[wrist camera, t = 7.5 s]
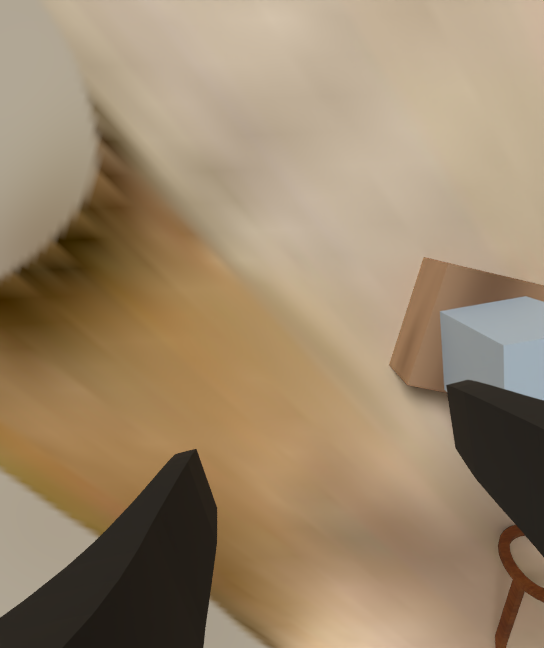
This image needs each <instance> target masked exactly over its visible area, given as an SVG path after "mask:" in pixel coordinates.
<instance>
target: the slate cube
mask: <svg viewBox="0 0 544 648" xmlns="http://www.w3.org/2000/svg"><path fill="white" fill-rule="evenodd" d="M440 323H441V340H442V357H443V374H444V390H445V391H446V392H447V387H446V385H448V384H452V383H456V382H460V381H464V380H473V381H477V382H481V383H485V384H489V385H492V386H496V387H499V388H502V389H506V390H509V391H513V392H516V393H519V394H523V395H526V396H530V397H533V398H537V399H540V400H544V302H543V301H540V300H536V299H533V298H530V297H527V296H524V297H518V298H513V299H507V300H501V301H495V302H490V303H484V304H478V305H473V306H467V307H461V308H455V309H450V310H444V311H440Z"/></svg>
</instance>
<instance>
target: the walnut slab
mask: <svg viewBox="0 0 544 648" xmlns="http://www.w3.org/2000/svg"><path fill="white" fill-rule="evenodd" d="M524 296H527V297H530V298H533V299H536V300H540V301H543V302H544V286H543V285H539V284H535V283H531V282H527V281H523V280H518V279H514V278H510V277H506V276H501V275H497V274H493V273H489V272H484V271H480V270H476V269H472V268H467V267H463V266H459V265H455V264H451V263H446V262H442V261H438V260H434V259H429V258H425V257H424V258H423V261H422V264H421V268H420V271H419V274H418V277H417V280H416V283H415V286H414V289H413V292H412V296H411V299H410V302H409V305H408V308H407V311H406V314H405V317H404V320H403V323H402V327H401V330H400V333H399V336H398V339H397V342H396V345H395V348H394V351H393V355H392V358H391V361H390V364H389V365H390V366H391V367H392V369H393V370H394V371H395V372H396V373H397V374H398V375H399V376H400V377H401V379H402V380H403V381H404V382H405V383H406V384H407V385H410V386H415V387H420V388H425V389H430V390H435V391H440V392H445V393H447V392H446V391H445V390H444V374H443V357H442V340H441V323H440V311H444V310H450V309H455V308H461V307H467V306H473V305H478V304H484V303H490V302H495V301H501V300H507V299H513V298H518V297H524Z"/></svg>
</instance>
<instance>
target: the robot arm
mask: <svg viewBox="0 0 544 648" xmlns="http://www.w3.org/2000/svg"><path fill="white" fill-rule="evenodd" d="M446 387H447V394H448V401H449V407H450V414H451V421H452V427H453V434H454V441H455V447H456V449H457V451H458V453H459V454H460V456H461V457H462V459H463V460H464V462H465V463H466V465H467V466H468V468H469V469H470V471H471V472H472V474H473V475H474V477H475V478H476V479H477V481H478V482H479V483H480V484H481V485H482V486H483V488H484V489H485V490H486V491H487V492H488V493H489V495H490V496H491V497H492V498H493V499H494V500H495V502H496V503H497V504H498V505H499V506H500V507H501V508H502V509H503V511H504V512H505V513H506V514H507V515H508V516H509V517H510V519H511V520H512V521H513V522H514V523H515V524H516V525H517V527H518V528H519V529H520V530H521V531H522V532H523V533H524V535H525V536H526V537H527V538H528V539H529V540H530V541H531V543H532V544H533V545H534V546H535V547H536V548H537V549H538V551H539V552H540V553H541V554H542V556H543V557H544V400H540V399H537V398H533V397H530V396H526V395H523V394H519V393H516V392H513V391H509V390H506V389H502V388H499V387H496V386H492V385H489V384H485V383H481V382H477V381H473V380H464V381H460V382H456V383H452V384H448V385H446ZM216 546H217V507H216V504H215V501H214V498H213V495H212V492H211V489H210V487H209V484H208V481H207V478H206V475H205V472H204V469H203V467H202V464H201V461H200V458H199V455H198V452H197V450H196V449H194V450H190V451H186V452H182V453H178V454H175V455H174V456H173V457H172V458H171V459H170V460H169V461H168V462H167V463H166V465H165V466H164V467H163V468H162V469H161V470H160V471H159V473H158V474H157V475H156V476H155V477H154V478H153V480H152V481H151V482H150V483H149V484H148V485H147V487H146V488H145V489H144V490H143V491H142V492H141V493H140V495H139V496H138V497H137V498H136V499H135V500H134V501H133V502H132V504H131V505H130V506H129V507H128V508H127V509H126V510H125V511H124V512H123V513H122V514H121V515H120V516H119V517H118V518H117V519H116V520H115V522H114V523H113V524H112V525H111V526H110V527H109V528H108V529H107V530H106V531H105V532H104V533H103V534H102V535H101V536H100V537H99V538H98V539H97V540H96V541H95V542H94V543H93V544H92V545H90V546H89V547H88V548H87V549H86V550H85V551H84V552H83V553H82V554H80V555H79V556H78V557H77V558H76V559H75V560H74V561H73V562H71V563H70V564H69V565H68V566H67V567H66V568H65V569H63V570H62V571H61V572H59V573H58V574H57V575H56V576H54V577H53V578H52V579H51V580H49V581H48V582H47V583H46V584H44V585H43V586H42V587H41V588H39V589H38V590H37V591H36V592H34V593H33V594H32V595H30V596H29V597H28V598H27V599H25V600H24V601H23V602H21V603H20V604H19V605H17V606H16V607H14V608H13V609H12V610H10V611H9V612H8V613H6V614H5V615H3V616H2V617H1V618H0V648H203V645H204V635H205V627H206V619H207V612H208V605H209V598H210V591H211V584H212V576H213V569H214V561H215V554H216Z"/></svg>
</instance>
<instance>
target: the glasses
mask: <svg viewBox="0 0 544 648" xmlns="http://www.w3.org/2000/svg"><path fill="white" fill-rule="evenodd" d="M520 536H525V535H524V533H523V532H522V531H521V530H520V529H519V528H518V527H517V525H514V526H511V527H509V528H507V529H506V530H505V531H503V533H502V534H501V536H500V539H499V544H498V550H499V555H500V558H501V561H502V563H503V565H504V567H505V569H506V570H507V572H508V573H509V575H510V576H511V577H512V579H513V581H512V584H511V587H510V590H509V593H508V597H507V600H506V603H505V606H504V609H503V613H502V616H501V619H500V622H499V625H498V628H497V632H496V635H495V645H496V648H506V645H507V642H508V639H509V636H510V633H511V630H512V627H513V624H514V621H515V618H516V615H517V612H518V609H519V607H520V604H521V601H522V598H523V595H524V592H527V593H528V594H530V595H531V596H533V597H534V598H536V599H538V600H540V601H542V602H544V588H542V587H540V586H538V585H536V584H535V583H533V582H532V581H531V580H530V579H528V578H527V577H526V576H525V575H524V574H523V573H522V572H521V570H520V569H519V568H518V566H517V565H516V564H515V562H514V560H513V558H512V555H511V552H510V543H511V541H513V540H514V539H515V538H518V537H520Z"/></svg>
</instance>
